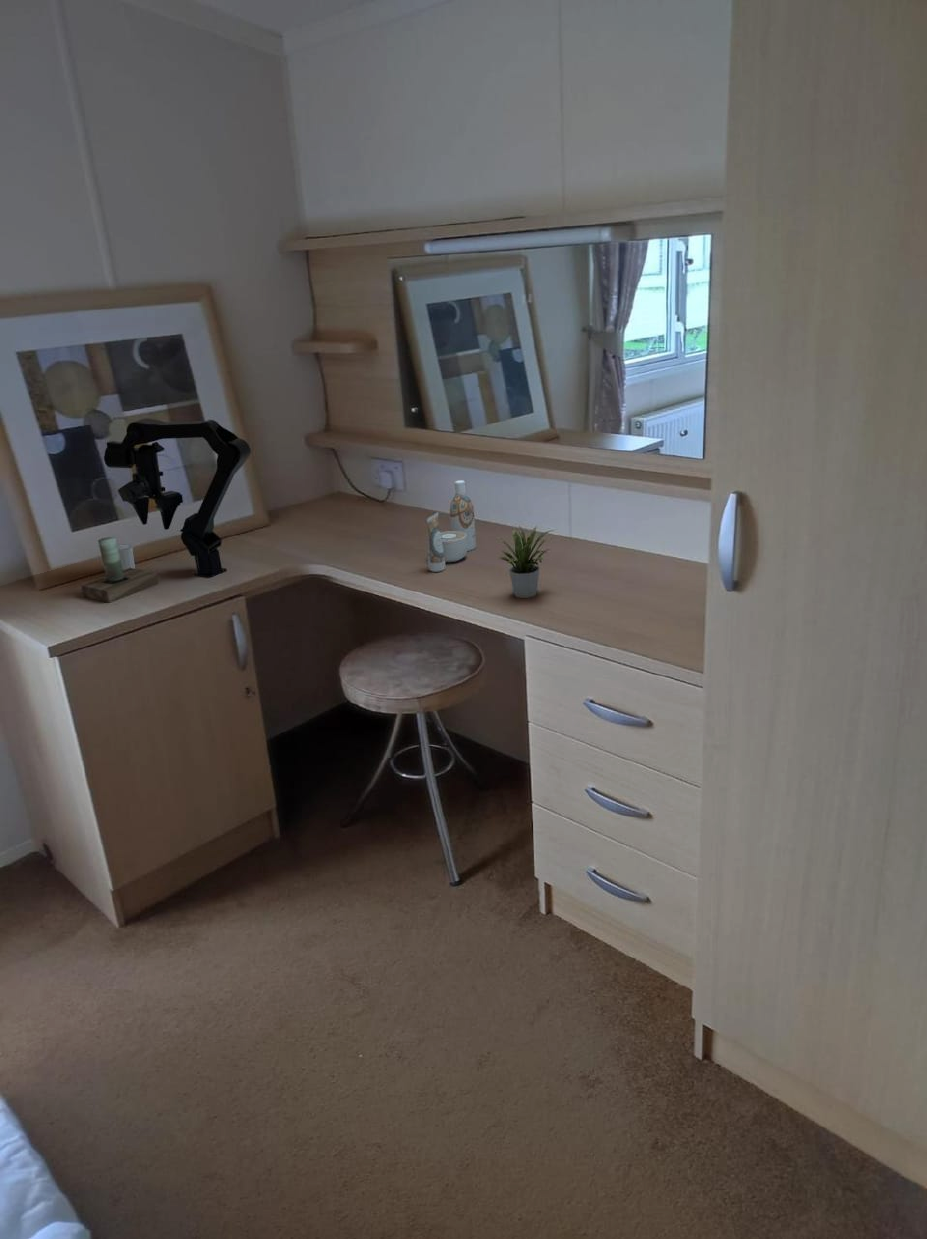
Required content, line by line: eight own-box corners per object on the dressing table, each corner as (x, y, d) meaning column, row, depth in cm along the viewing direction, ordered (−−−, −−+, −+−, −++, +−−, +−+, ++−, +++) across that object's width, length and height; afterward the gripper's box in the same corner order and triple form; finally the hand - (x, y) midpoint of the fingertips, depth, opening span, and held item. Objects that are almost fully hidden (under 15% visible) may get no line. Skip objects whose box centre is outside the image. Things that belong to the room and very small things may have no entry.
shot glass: (110, 577, 242) (104, 552, 239) (112, 569, 248) (107, 545, 245) (136, 573, 243) (131, 549, 241) (138, 566, 249) (133, 542, 247)
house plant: (573, 592, 206) (572, 524, 200) (534, 609, 198) (531, 539, 191) (528, 580, 216) (525, 515, 210) (488, 596, 207) (484, 529, 201)
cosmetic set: (448, 575, 224) (442, 503, 217) (415, 573, 227) (408, 501, 220) (484, 546, 245) (480, 479, 238) (453, 544, 248) (448, 478, 241)
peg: (131, 589, 230) (119, 538, 225) (116, 595, 227) (104, 542, 222) (120, 587, 233) (109, 536, 228) (106, 592, 229) (94, 541, 224)
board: (158, 583, 233) (156, 573, 232) (109, 602, 222) (107, 591, 221) (132, 578, 239) (130, 567, 238) (83, 596, 228) (80, 585, 227)
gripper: (98, 470, 229) (107, 528, 235) (144, 478, 219) (152, 539, 225) (135, 462, 238) (143, 519, 244) (180, 470, 228) (188, 529, 234)
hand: (155, 526), depth 236 cm, fingers open, 9 cm apart
